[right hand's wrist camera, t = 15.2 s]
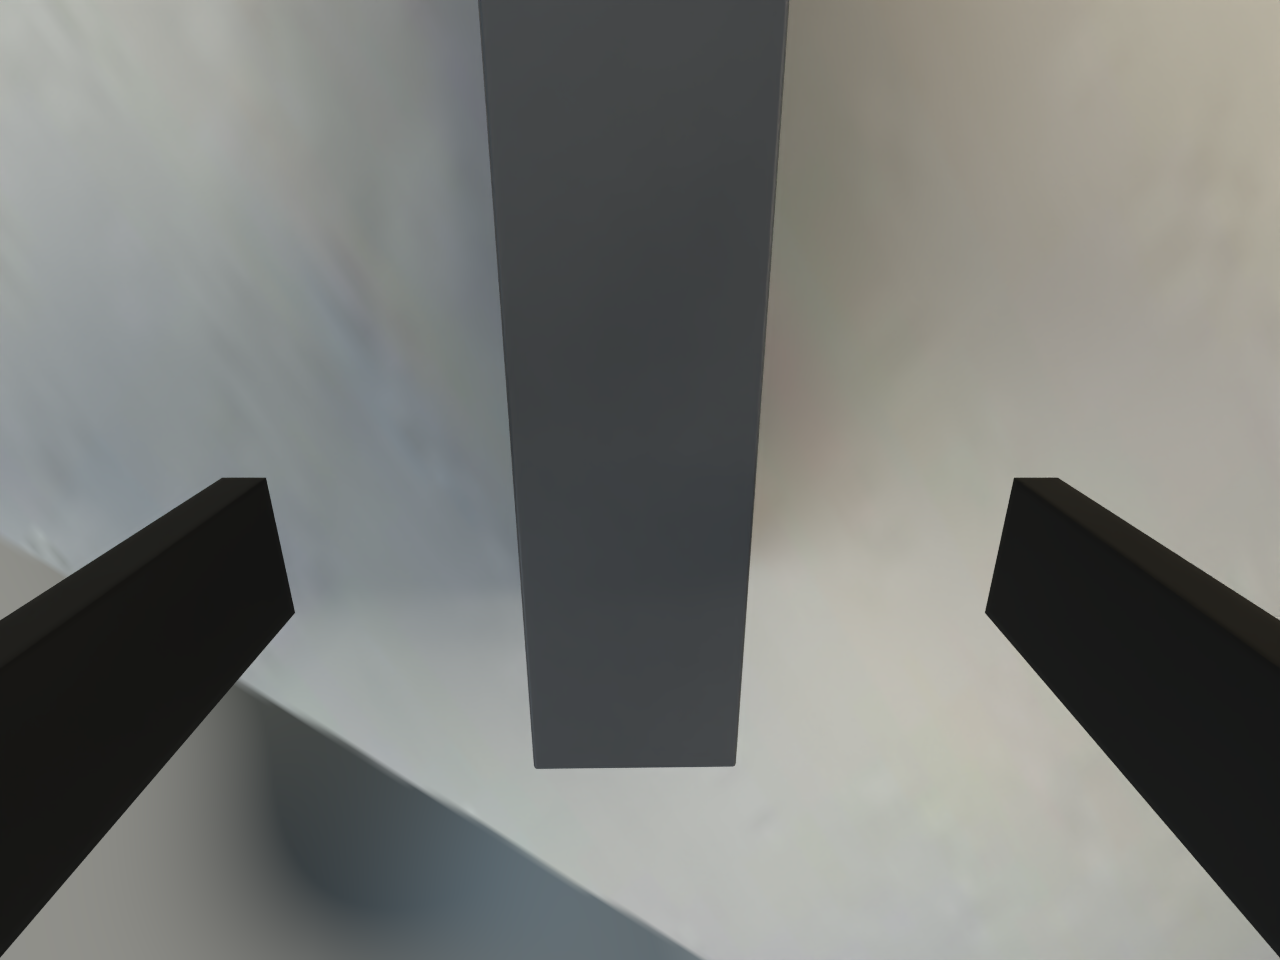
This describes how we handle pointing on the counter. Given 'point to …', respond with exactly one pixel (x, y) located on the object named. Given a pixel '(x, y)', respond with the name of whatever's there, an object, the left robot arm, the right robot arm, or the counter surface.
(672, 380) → the beam
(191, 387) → the counter surface
